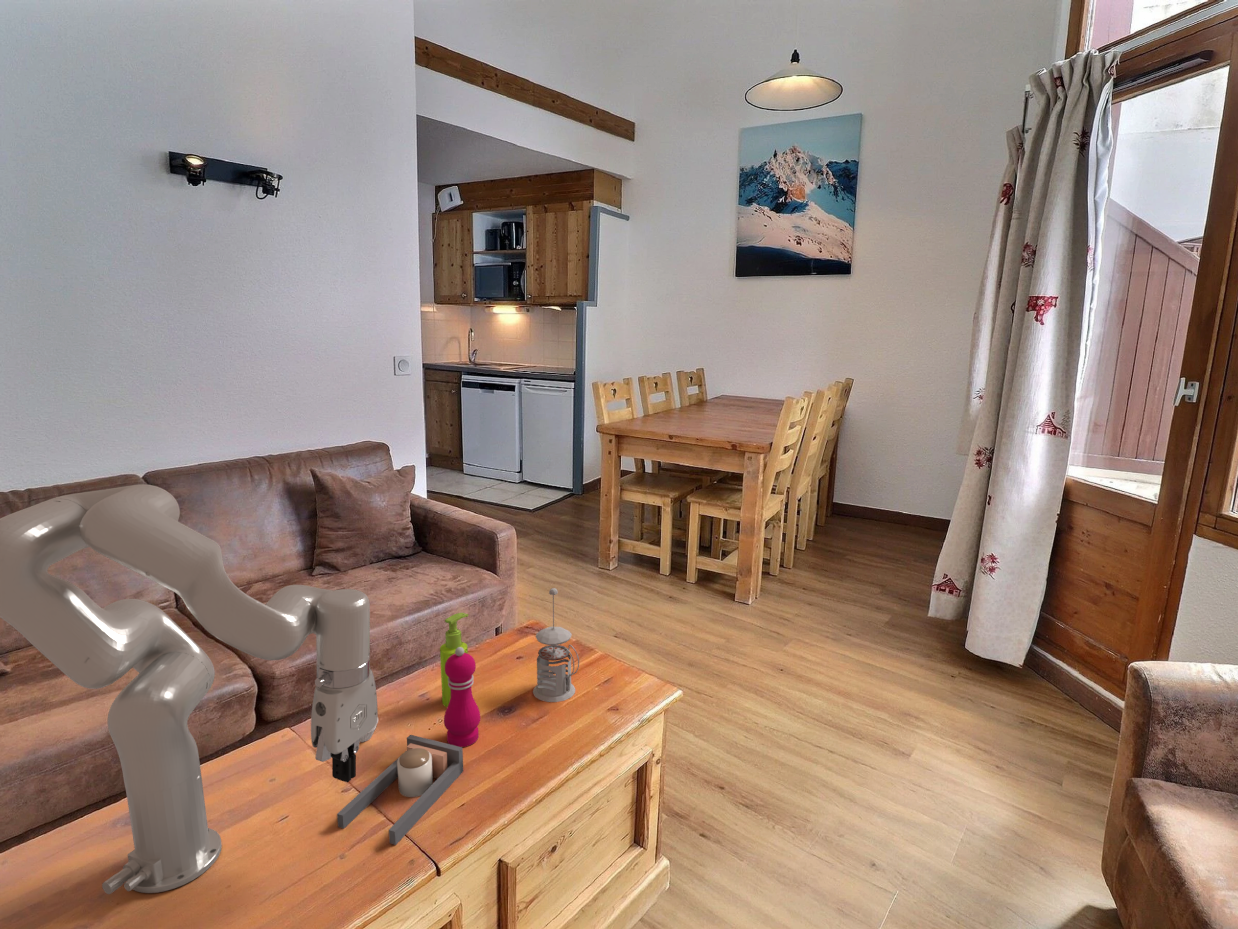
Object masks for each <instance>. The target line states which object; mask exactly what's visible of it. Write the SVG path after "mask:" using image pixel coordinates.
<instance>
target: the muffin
mask: <svg viewBox="0 0 1238 929" xmlns="http://www.w3.org/2000/svg"><path fill="white" fill-rule="evenodd" d="M378 723H379V717H378V718H377V723H376V725H375V726H374V727H373V728H372V729H371V730H370V731H369V732H368V733H366V734H365V735H364V736H362V737H361V739H360V742H359V743H365V742H367V741H369V740H370V739H371V738H372V737H373V735H374V732H376V731H375V730H376V728H377V725H378Z"/></svg>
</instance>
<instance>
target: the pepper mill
mask: <svg viewBox="0 0 1238 929" xmlns="http://www.w3.org/2000/svg"><path fill="white" fill-rule="evenodd" d="M476 666H477V665H476V660H475V658H474V657H473V656H472V655H471V654H470V653H468V654H467V653H464V649H463V648H462V647H458V648H457V649H456V650H455V654H453V655H451V656H450V657H449V658H448V659H447V661H446V664H445V673H446V675H447V676H448V677H449V678H448V686H449V687H450V688H451V698H450V702H449V705H448V707H446V709H445V713H444V716H443V724H444V727H445V729H446V739H447V742H448V743H447V744H450V745H454V746H458V747H462V748H464V747H465V748H466V747H469V746H471V745H474V744H475V743H476V742H477V741H478V739H479V738H480V737H479V735H480V734H479V724H480V722H481V711H480V709H479V706H478V704H477V703H476V700H475V698H474V696H473V690H472V686H473V685H474V683H475V682H474V678H475V677H474V673H475V672H476Z"/></svg>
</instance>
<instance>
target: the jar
mask: <svg viewBox="0 0 1238 929" xmlns="http://www.w3.org/2000/svg"><path fill="white" fill-rule="evenodd" d="M405 751H406V750H405ZM405 751H404V752H402V753H401V755H400V756H399V757H398V758H397V759H398V760H397V759H396V760H397V768H398V778H397V783H398V791H399V794H400V795H401V796H403V797H406V798H416V797H421V796H422V795H423V794H424V792H425V791H426V790H427V789H428V788H429V787H430V786H431V785H432V784H433V783H434V777H433V773H432V756H431V753H430V752H428V751H427V750H425V749H422V748H414V749H410V750H408V751H406V752H405Z"/></svg>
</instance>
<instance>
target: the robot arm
mask: <svg viewBox="0 0 1238 929" xmlns="http://www.w3.org/2000/svg"><path fill="white" fill-rule="evenodd" d="M180 511H181V510H180V505H179V503H178V501H177V499H176V498H175V497H174V496H173V494H172V493H170V492H169V491H167V490H165V489H164V488H162V487H159V486H157V485H151V484H143V483H142V484H140V483H139V484H133V485H132V484H131V485H126V486H119V487H114V488H113V487H112V488H106V489H99V490H98V489H97V490H92V491H84V492H79V493H78V492H76V493H70V494H65V495H61V496H57V497H53V498H50V499H47V500H44V501H41V502H39V503H37V504H34V505H32V506H29V507H26V508H24V509H21V510H17V511H15V512H13V513H9V514H8V515H5V516H3V517H1V518H0V619H2V620H3V621H4V622H6V623H7V624H9V625H10V626H11V627H13V628H14V629H15V630H16V631H17V632H19V634H20V635H22V636H23V638H25V639H26V641H28V642H29V643H30V644H31V645H32V646H33V647H34V648H35V649H36V650H38V652H40V653H41V654H42V655H43V656H44V657H45V658H46V659H48V660H49V661H50V662H51V663H52V664H53V665H54V666H55V667H56V668H57V669H58V670H60V672H62V673H63V674H64V675H65V676H66V677H67V678H69V679H70V680H71V681H72V682H74V683H75V684H77V685H78V686H81V687H82V688H86V689H90V690H91V689H92V690H98V689H103V688H105V687H107V686H110V685H112V684H114V683H116V682H117V681H118V680H119V679H121V678H122V677H123V676H125V675H126V674H127V673H129V671H131V669H134V670H135V671H136V672H137V673H138V674H137V675H136V676H135V677H134V678H133V679H132V680H131V681H130V682H128V684H127V685H125V687H123V689H122V690H121V691H119V693H118V694H117V696H116V697H115V699H114V700H113V702H112V704H111V705H110V708H109V711H108V714H107V729H108V732H109V735H110V737H111V739H112V742H113V744H114V746H115V749H116V751H117V754H118V757H119V762H120V765H121V770H122V777H123V778H122V779H123V782H124V787H125V792H126V794H125V795H126V799H127V807H128V814H129V822H130V827H131V833H132V840H133V848H134V849H133V850H132V851H130V852H129V853H127V860H128V862H126V863H125V864H123V866H122V869H121V870H120V871H119V872H117V873H115V874H114V875H112V876H110V877H109V878H108V879H106V880H105V881H104V882H102V884H101V886H102V889H103V892H104V893H105V894H107V895H111V894H113V893H114V892H115V891H117V890H118V889H119V888H121V887H122V886H123V887H124V889H125V890H126V892H130V891H132V890H133V891H135V892H139V893H144V894H156V893H163V892H167V891H170V890H174V889H176V888H179V887H182V886H184V885H186V884H188V883H191V882H192V881H194V880H196V878H198V877H200V876H201V875H202V874H204V873H205V872H207V871H208V870H209V869H210V868H211V867H212V866H213V865H214V864H215V862H216V861H217V860H218V858H219V856H220V854H221V851H222V846H223V845H222V839H221V835H220V834H219V833H218V831H216V830H215V829H213V828H210V827H208V826H209V825H208V818H207V810H206V803H205V794H204V787H203V785H204V784H203V779H202V770H201V763H200V757H199V756H200V755H199V749H198V746H197V742H196V740H195V738H194V736H193V734H191V731H190V730H189V726H188V720H189V717H190V715H191V714H192V712H194V710H195V709H196V707H197V706H198V705H199V703H200V702H201V701H202V700H203V699H204V697H205V696H206V695H207V693H208V692H209V690H210V689H211V688H212V686H213V683H214V681H215V675H216V674H215V673H216V672H215V666H214V664H213V661H212V660H211V658H210V657H209V656H208V654H207V653H206V652H205V651H204V650H203V648H202V647H201V646H199V644H198V643H196V642H195V641H194V639H192V638H191V637H190V636H189V635H188V634H187V633H186V632H185V631H184V629H183V628H181V627H180V626H179V625H178V623H176V622H175V621H174V620H173V619H172V618H171V617H170V616H169V614H167V612H164V610H162V609H161V608H160V607H159V606H157V605H155V604H153V603H151V602H148V601H146V600H142V599H138V598H124V599H120V600H119V599H118V600H117V601H114V602H112V603H109V604H107V605H106V606H105V607H101V606H100V605H98V604H97V603H96V602H95V600H93V599H92V598H91V597H90V596H89V595H88V594H87V593H86V592H85V591H84V590H83V589H81V588H80V587H78V586H77V585H76V584H74V583H73V582H71V581H69V580H65V579H63V578H61V577H58V576H55V575H53V574H50V573H49V571H48V570H49V568H50V567H51V566H52V565H54V564H56V563H58V562H60V561H63V560H64V559H66V558H68V557H70V556H71V555H73V554H75V553H77V552H79V551H81V550H83V549H87V548H90V549H91V550H93V551H94V552H96V553H98V554H99V555H102V556H104V557H105V558H107V559H109V560H112V561H114V562H115V563H116V564H119V565H120V566H123V567H124V568H127V569H129V570H131V571H133V572H134V573H136V574H138V575H141V576H143V577H144V578H146V579H148V580H151V581H152V582H154V583H156V584H158V585H160V586H162V587H163V588H165V589H168V590H169V591H171V592H174V593H175V594H177V595H178V596H179V597H180V598H181V599H182V601H183V603H184V604H185V606H186V608H187V610H188V611H189V612H190V613H191V614H192V615H193V617H194V618H195V619H196V620H197V621H198V623H199V624H200V625H201V626H202V627H203V628H204V630H205V631H207V632H208V633H209V634H210V635H212V636H213V637H215V638H216V639H218V640H219V641H222V642H223V643H225V644H227V645H228V646H230V647H233V648H235V649H237V650H239V651H241V652H242V653H245V654H248V655H250V656H252V657H255V658H257V659H262V660H264V661H280V660H284V659H287V658H289V657H291V656H293V655H294V654H295V653H296V652H297V651H298V650H299V649H300V648H301V647H302V646H303V644H304V642H305V641H306V639H307V638H308V636H309V635H311V634H314V635H315V638H316V640H315V641H316V644H315V646H316V679H315V680H314V684H315V688H314V693H313V700H312V706H311V707H312V708H311V716H310V717H311V718H310V739H311V741H310V742H311V745H312V747H313V748H316V753H315V758H314V760H316V761H319V762H321V763H324V762H326V761H328V760H330V759H331V762H332V763H331V764H332V766H331V767H332V778H333V779H335V780H339V781H342V782H345V783H349V782H351V781H352V779H354V778H355V777H356V775H357V774H356V773H357V765H356V763H357V762H356V761H357V759H356V757H357V753H358V751H359V749H360V743H361V742H360V739H361V737H362V736H364V735H365V734H366V733H368V732H369V731H370V730H371V729H372V728H373V727H374V726H375V725H376V723H377V718H378V719H379V717H378V716H379V714H378V712H379V711H378V695H377V688H376V687H377V686H376V680H375V676H374V673H373V670H372V669H371V667H370V666H371V665H370V664H371V663H370V658H371V657H370V656H371V653H370V651H371V650H370V648H371V646H370V645H371V644H370V643H371V642H370V639H371V638H370V636H371V635H370V634H371V627H370V626H371V625H370V624H371V622H370V620H371V618H370V616H371V615H370V614H371V610H370V609H371V604H370V599H369V597H368V595H367V594H366V593H365V592H363V591H361V590H357V589H351V588H342V589H334V590H332V589H325V588H320V587H315V586H310V585H303V584H290V585H286V586H284V587H282V588H280V589H279V590H278V591H277V592H276V591H275V593H274V594H273V595H272V596H271V598H270V599H269V600H268V601H267V602H266V603H263V602H262V601H260V600H257V599H256V598H254V597H252V596H250V595H249V594H247V593H245V592H244V591H242V590H241V589H240V588H239V587H238V586H236V584H235V583H233V581H232V580H231V578H230V577H229V576H228V573H227V572H226V568H225V565H224V560H223V559H224V558H223V550H222V547H221V546H220V543H218V542H217V541H216V540H213V539H212V538H210V537H207V536H206V535H204V534H202V533H200V532H199V531H197V530H195V529H194V528H193V529H192V528H191V527H189V526H187V525H185V524H184V523H182V522H180V521H179V519H180V515H181V514H180V513H181V512H180ZM377 724H378V723H377ZM376 726H377V725H376Z"/></svg>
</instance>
